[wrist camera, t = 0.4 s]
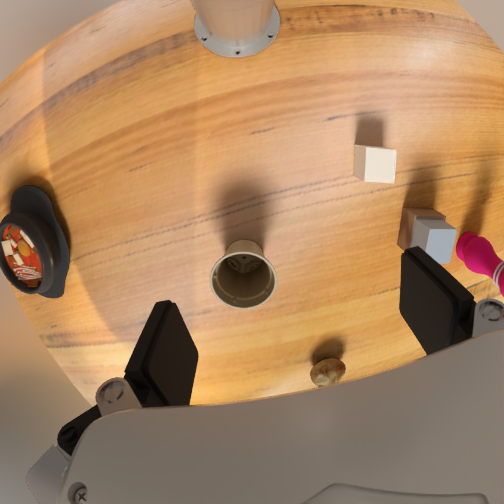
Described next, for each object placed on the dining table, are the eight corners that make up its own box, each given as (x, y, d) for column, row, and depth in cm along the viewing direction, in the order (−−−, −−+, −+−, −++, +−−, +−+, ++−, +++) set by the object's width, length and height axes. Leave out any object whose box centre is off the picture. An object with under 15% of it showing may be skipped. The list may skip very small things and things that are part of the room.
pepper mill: (469, 222, 45) (535, 267, 27) (480, 243, 47) (539, 289, 29) (449, 247, 47) (510, 300, 29) (461, 266, 49) (516, 319, 31)
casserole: (83, 300, 52) (65, 324, 45) (24, 285, 51) (5, 304, 44) (69, 183, 42) (41, 195, 34) (7, 182, 41) (-20, 193, 33)
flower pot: (232, 219, 45) (228, 239, 37) (283, 245, 47) (289, 270, 39) (207, 265, 49) (199, 292, 41) (255, 288, 51) (256, 318, 43)
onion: (348, 360, 59) (357, 386, 52) (321, 378, 61) (327, 404, 54) (330, 345, 57) (338, 372, 50) (301, 364, 59) (306, 392, 52)
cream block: (354, 144, 40) (366, 147, 36) (382, 146, 40) (396, 150, 35) (352, 175, 42) (364, 181, 38) (380, 176, 42) (394, 183, 38)
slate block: (415, 219, 40) (429, 229, 36) (442, 219, 40) (457, 229, 36) (409, 252, 43) (422, 265, 39) (436, 251, 43) (449, 263, 39)
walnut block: (402, 206, 44) (414, 215, 40) (432, 208, 44) (445, 216, 40) (396, 243, 47) (407, 254, 43) (426, 243, 47) (438, 253, 43)
